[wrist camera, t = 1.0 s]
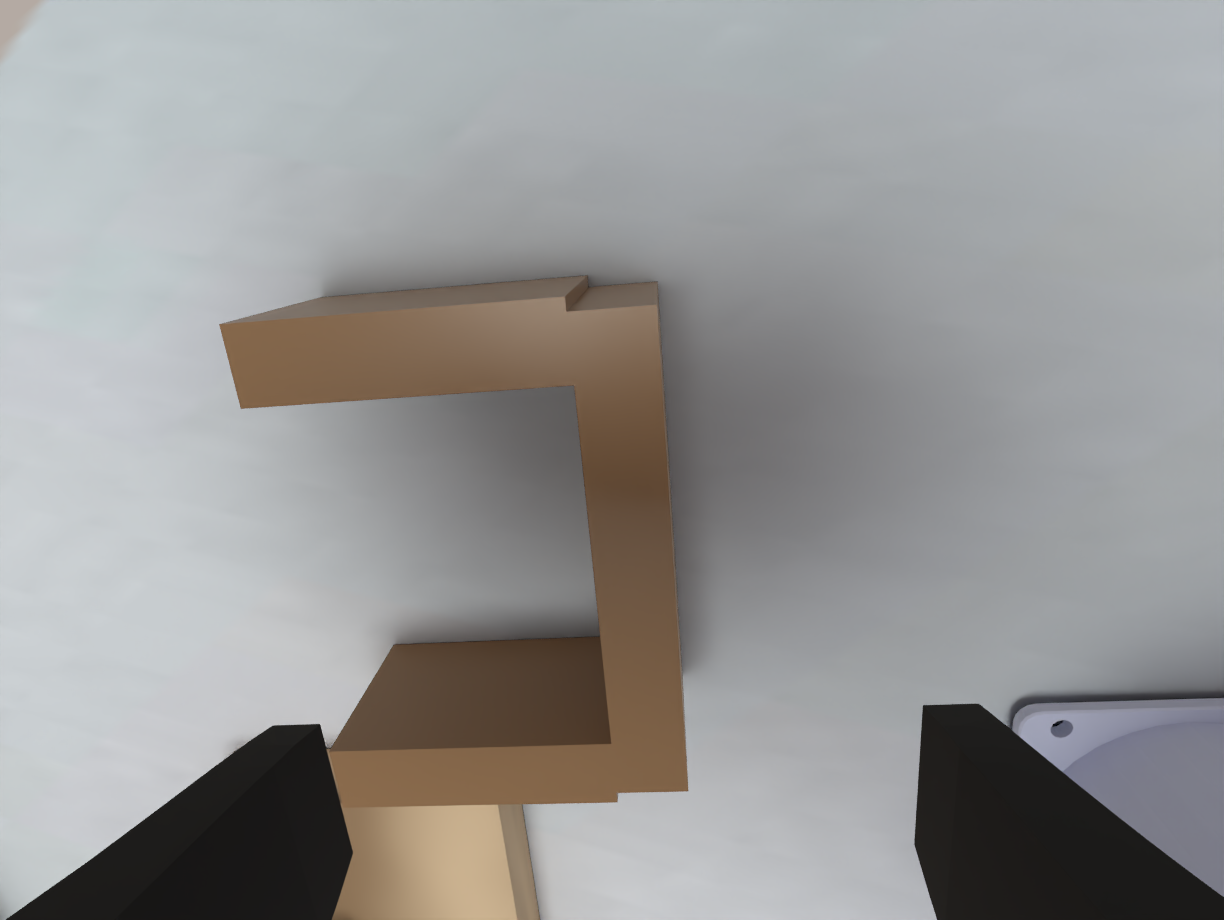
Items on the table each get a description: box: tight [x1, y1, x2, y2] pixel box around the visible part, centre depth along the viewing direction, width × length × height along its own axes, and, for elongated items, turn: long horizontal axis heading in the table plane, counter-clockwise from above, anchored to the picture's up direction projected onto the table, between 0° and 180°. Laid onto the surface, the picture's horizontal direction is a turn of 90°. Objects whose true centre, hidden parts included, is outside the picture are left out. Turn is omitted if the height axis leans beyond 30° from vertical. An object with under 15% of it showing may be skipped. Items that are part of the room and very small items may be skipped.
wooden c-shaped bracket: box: [219, 275, 688, 808], centre depth 16 cm, size 8×10×4 cm
